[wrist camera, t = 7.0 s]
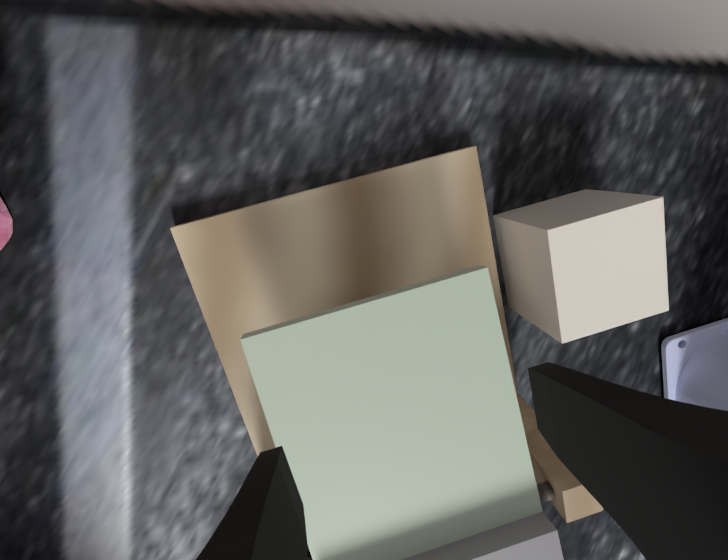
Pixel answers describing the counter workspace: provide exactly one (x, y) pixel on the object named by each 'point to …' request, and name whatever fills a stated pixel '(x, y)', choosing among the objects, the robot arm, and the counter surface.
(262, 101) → the counter surface
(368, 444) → the trapdoor
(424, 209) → the stand
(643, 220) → the cream cube
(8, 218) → the flower
